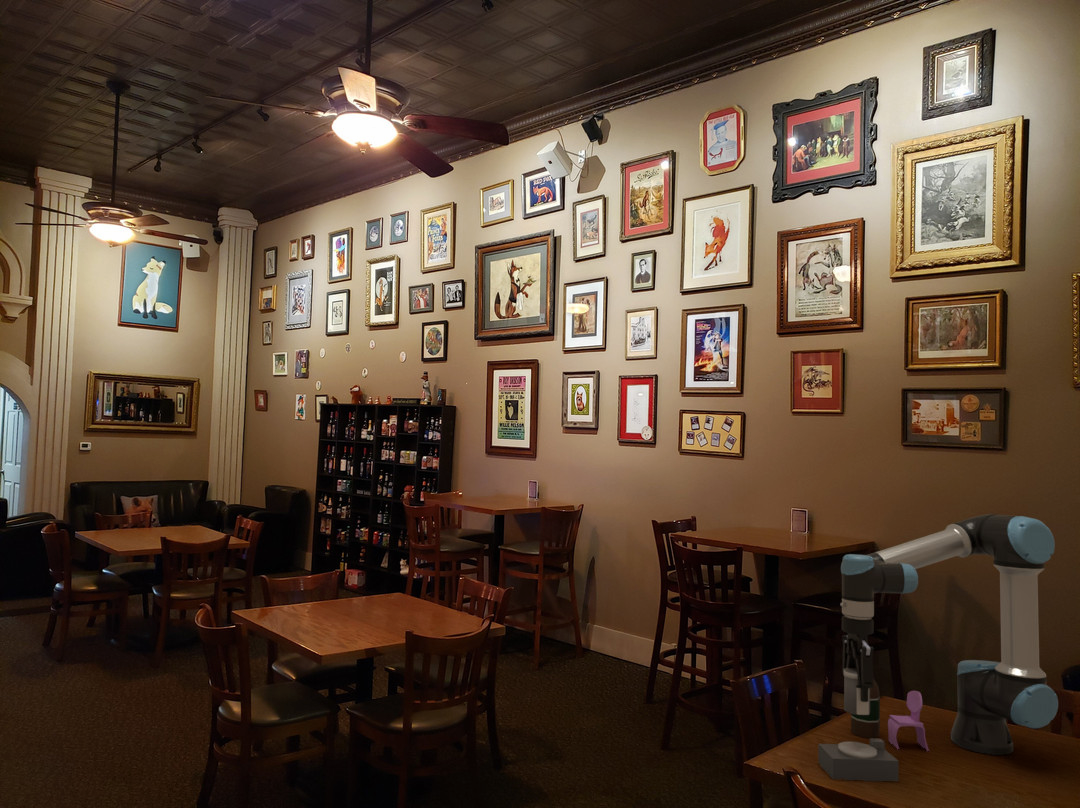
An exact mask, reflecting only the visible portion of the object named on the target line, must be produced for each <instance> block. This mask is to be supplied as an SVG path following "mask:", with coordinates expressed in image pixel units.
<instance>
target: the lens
mask: <svg viewBox="0 0 1080 808" xmlns="http://www.w3.org/2000/svg"><path fill="white" fill-rule="evenodd" d="M843 676H844V679H843V680H844V681H843V682H844V686H843V687H844V689H843V692H844V694H843V699H844V700H843V702H844V703H843V706H844V707H843V708H844V709H843V710H844V711H845V712H846V713H847V714H850V715H851V714H856V715H859V714H857V688H856V686H855V685H858V677H857V668H845V669H844V674H843ZM869 714H870V688H869Z"/></svg>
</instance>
